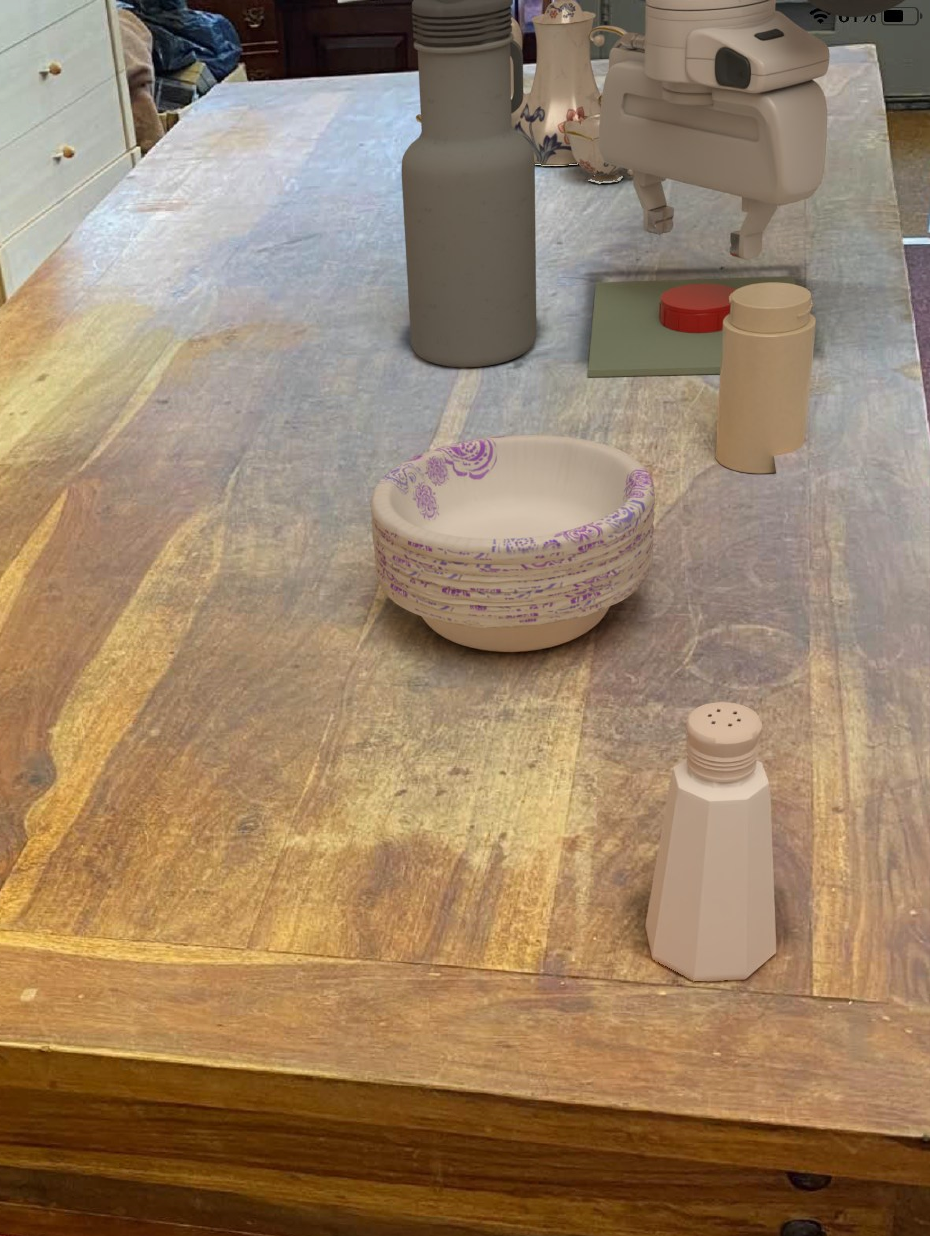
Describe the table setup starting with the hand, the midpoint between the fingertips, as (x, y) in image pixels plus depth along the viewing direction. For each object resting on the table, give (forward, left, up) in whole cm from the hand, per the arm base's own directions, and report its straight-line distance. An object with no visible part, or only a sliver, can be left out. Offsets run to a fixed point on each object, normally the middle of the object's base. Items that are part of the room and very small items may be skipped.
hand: (700, 243), depth 122 cm
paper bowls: (+11, +45, -7) cm, 47 cm away
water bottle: (+17, +2, -7) cm, 18 cm away
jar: (-3, +24, -7) cm, 25 cm away
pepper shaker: (+1, +73, -7) cm, 74 cm away
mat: (0, -1, -7) cm, 7 cm away
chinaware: (+14, -52, -7) cm, 54 cm away
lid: (0, -1, -5) cm, 5 cm away
